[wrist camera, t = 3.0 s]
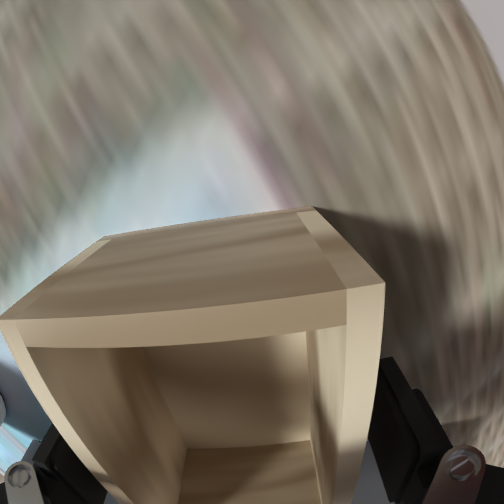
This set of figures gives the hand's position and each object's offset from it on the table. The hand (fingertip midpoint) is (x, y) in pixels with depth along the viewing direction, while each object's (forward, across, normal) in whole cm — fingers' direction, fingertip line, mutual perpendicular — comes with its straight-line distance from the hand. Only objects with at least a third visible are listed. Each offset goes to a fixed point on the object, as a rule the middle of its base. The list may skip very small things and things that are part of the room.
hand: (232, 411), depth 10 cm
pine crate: (+3, 0, 0) cm, 3 cm away
